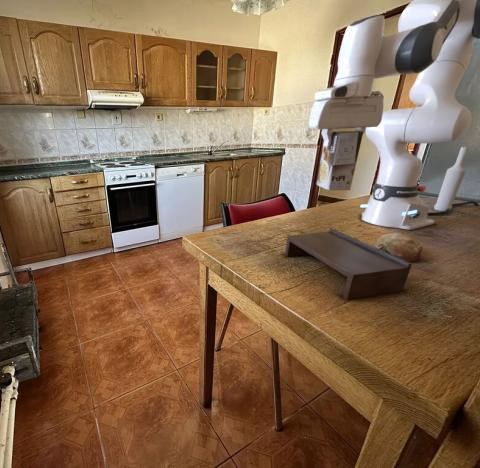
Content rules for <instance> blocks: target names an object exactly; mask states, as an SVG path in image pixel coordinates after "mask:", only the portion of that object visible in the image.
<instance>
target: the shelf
mask: <svg viewBox="0 0 480 468" xmlns="http://www.w3.org/2000/svg"><path fill="white" fill-rule="evenodd" d="M286 237H287V238H286V244H285V252H284V256H286V257H289V258H290V257H297V256H303V255H311V256H312V257H314V258H316V259H317V260H319V261H321V263H324V264H326V265H327V266H329V267H331V268H332V269H334V270H335V271H337V272H338V273H340V274H342V275H343V276H345V277H347V278H346V281H345V286H344V290H343V293H342V298H343V299H346V300H354V299H361V298H365V297H373V296H380V295H387V294H392V293H397V292H398V293H399V292H403V291H404V289H405V286H406V282H407V279H408V277H409V274H410V271H411V269H412V265H413V263H412V262H407V261H405V260H403V259H401V258H398V257H396V256H394V255H391V254H389V253H387V252H385V251H382V250H380V249H378V248H375V246H373V245H370V244H368V243H367V242H365V241H361V240H360V239H357V238H355V237H353V236H350V235H348V234H345V233H344V232H341V231H339V230H336V229H334V228H329V231H319V232H312V233H302V234H294V235H292V234H291V235H287V236H286Z"/></svg>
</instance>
